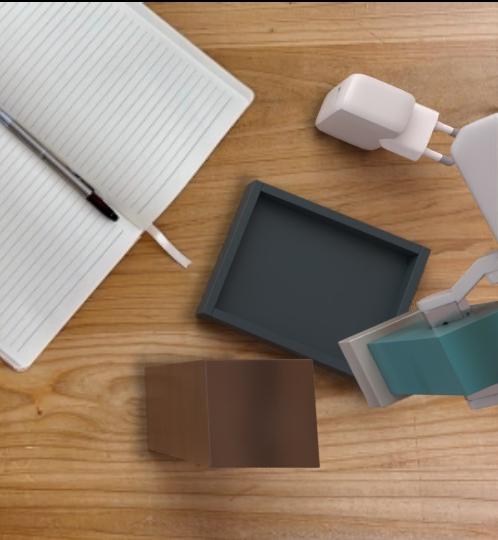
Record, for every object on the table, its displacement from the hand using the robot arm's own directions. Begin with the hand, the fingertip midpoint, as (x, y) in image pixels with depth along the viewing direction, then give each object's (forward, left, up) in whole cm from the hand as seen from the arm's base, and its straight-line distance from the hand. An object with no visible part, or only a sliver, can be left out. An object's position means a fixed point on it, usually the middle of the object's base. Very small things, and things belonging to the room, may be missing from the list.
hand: (445, 353), depth 44 cm
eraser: (0, 0, -5) cm, 5 cm away
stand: (+3, +5, -31) cm, 31 cm away
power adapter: (-3, -24, -31) cm, 39 cm away
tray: (-2, -9, -31) cm, 32 cm away
